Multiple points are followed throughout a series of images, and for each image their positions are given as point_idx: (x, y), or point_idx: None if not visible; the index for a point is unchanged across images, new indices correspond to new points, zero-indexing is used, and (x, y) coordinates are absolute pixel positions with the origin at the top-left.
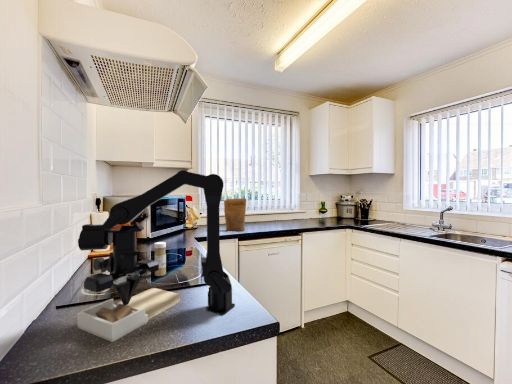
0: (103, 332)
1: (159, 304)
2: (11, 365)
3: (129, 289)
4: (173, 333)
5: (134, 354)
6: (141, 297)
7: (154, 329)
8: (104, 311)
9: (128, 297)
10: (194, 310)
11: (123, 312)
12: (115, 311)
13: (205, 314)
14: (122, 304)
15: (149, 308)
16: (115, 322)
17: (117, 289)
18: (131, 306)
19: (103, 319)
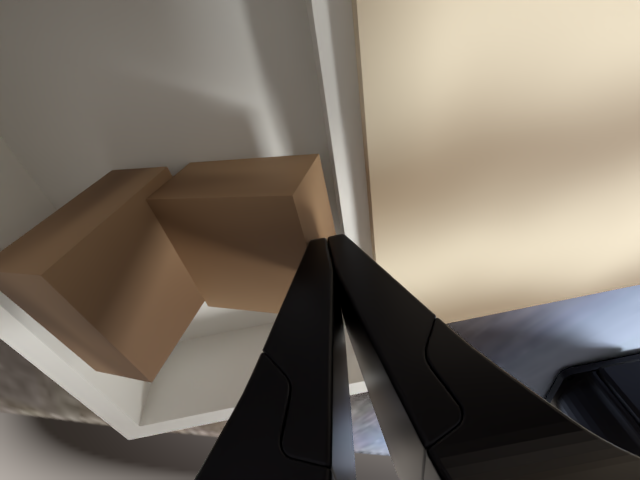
0: None
1: (507, 309)
2: None
3: (397, 455)
4: (364, 408)
5: (209, 426)
6: (623, 51)
7: None
8: (76, 334)
9: (354, 347)
10: (553, 343)
11: (259, 311)
12: (217, 241)
13: (528, 383)
14: (303, 237)
15: None
16: (153, 428)
17: (232, 466)
18: (389, 198)
19: (77, 374)
